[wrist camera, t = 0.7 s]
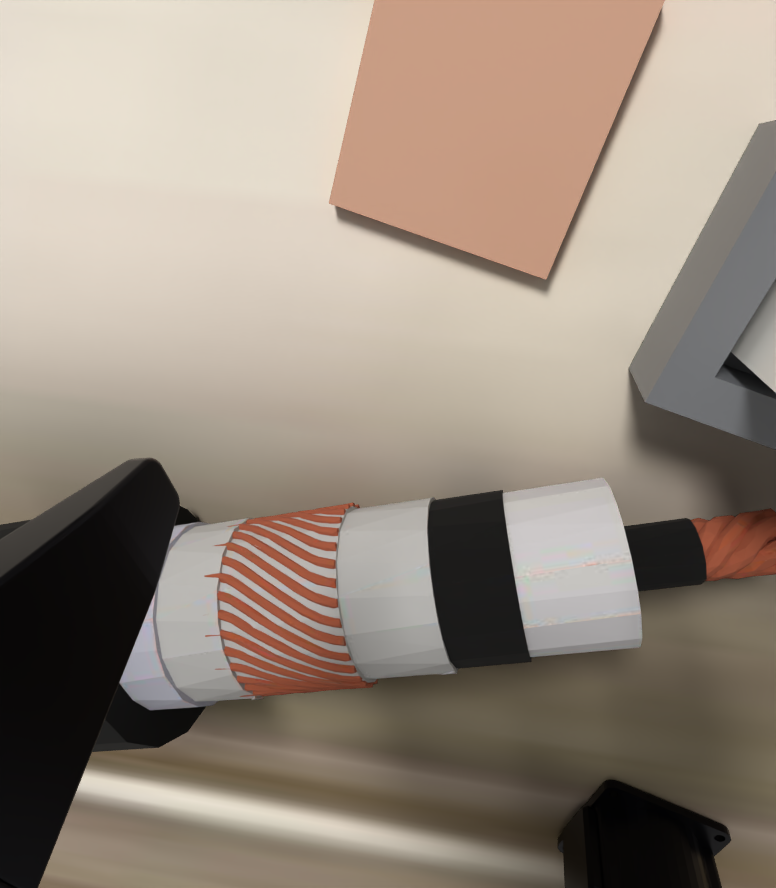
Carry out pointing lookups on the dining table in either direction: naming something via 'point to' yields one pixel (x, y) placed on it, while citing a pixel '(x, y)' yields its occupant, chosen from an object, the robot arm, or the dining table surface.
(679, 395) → the grey hollow box
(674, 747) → the dining table surface
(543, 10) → the coaster
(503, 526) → the cable
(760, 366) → the white block
